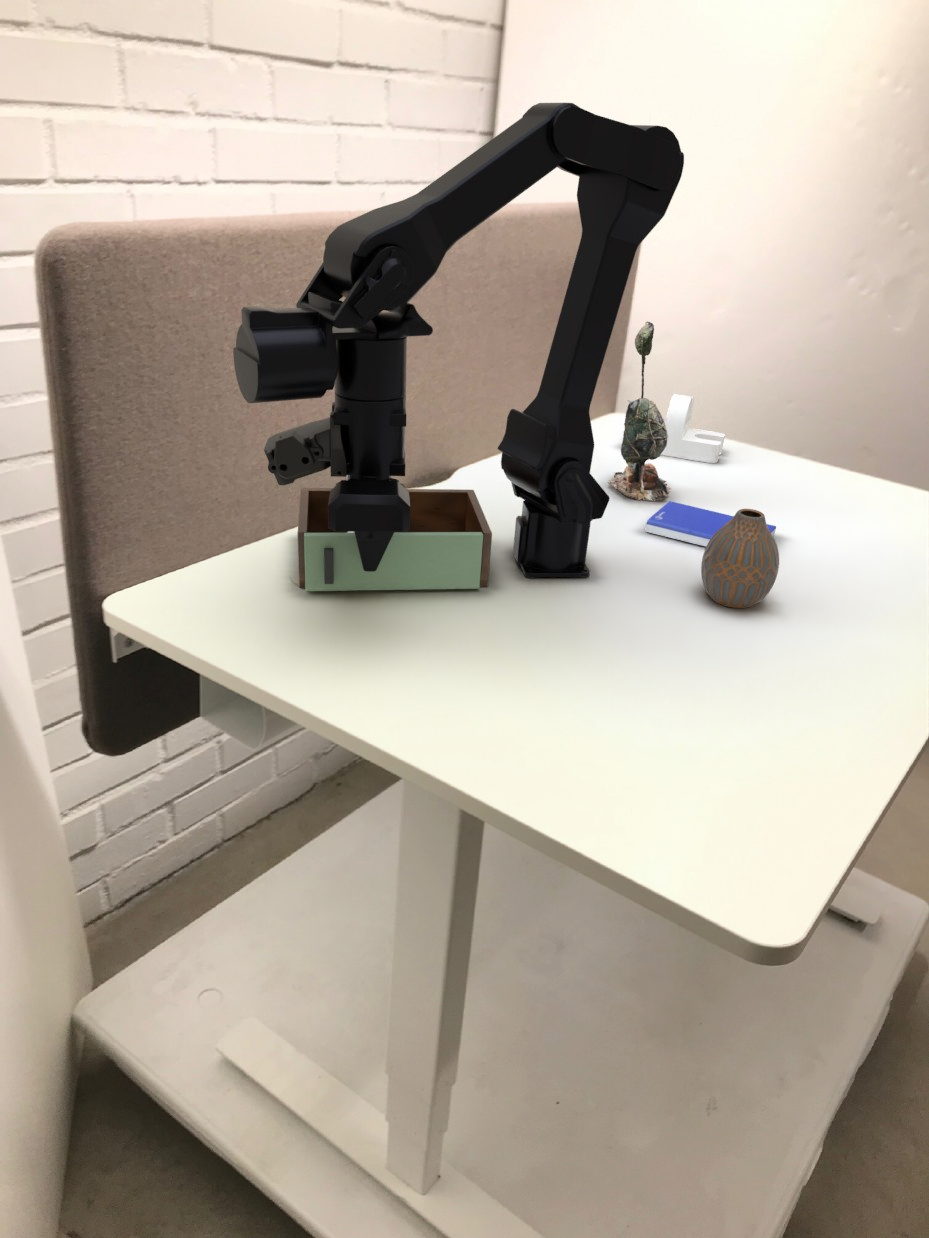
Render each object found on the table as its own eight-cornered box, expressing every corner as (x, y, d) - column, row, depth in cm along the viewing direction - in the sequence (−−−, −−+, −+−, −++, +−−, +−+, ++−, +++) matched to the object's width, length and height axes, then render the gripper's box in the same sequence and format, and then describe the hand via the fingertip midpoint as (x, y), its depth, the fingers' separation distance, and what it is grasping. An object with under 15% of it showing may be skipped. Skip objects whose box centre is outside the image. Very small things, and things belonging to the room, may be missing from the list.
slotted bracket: (623, 448, 129) (631, 394, 125) (633, 437, 135) (641, 384, 131) (715, 463, 125) (726, 408, 121) (722, 451, 131) (732, 397, 127)
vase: (770, 592, 88) (791, 507, 84) (768, 621, 82) (789, 532, 78) (699, 578, 90) (716, 495, 86) (691, 606, 84) (709, 518, 80)
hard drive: (646, 519, 99) (759, 547, 94) (670, 499, 106) (777, 524, 101) (644, 533, 100) (756, 561, 95) (668, 512, 107) (773, 537, 101)
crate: (470, 538, 96) (473, 489, 93) (488, 587, 85) (492, 533, 83) (302, 538, 93) (300, 487, 91) (299, 587, 83) (297, 532, 80)
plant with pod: (594, 499, 109) (616, 328, 100) (616, 473, 118) (638, 315, 109) (660, 512, 106) (690, 338, 97) (677, 484, 116) (706, 323, 107)
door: (477, 585, 85) (481, 531, 82) (481, 593, 83) (485, 539, 81) (305, 587, 82) (304, 532, 80) (305, 595, 81) (304, 540, 78)
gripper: (280, 366, 80) (286, 530, 87) (254, 420, 64) (265, 617, 71) (405, 370, 81) (402, 531, 88) (412, 425, 65) (407, 618, 72)
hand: (369, 570), depth 80 cm, fingers closed
